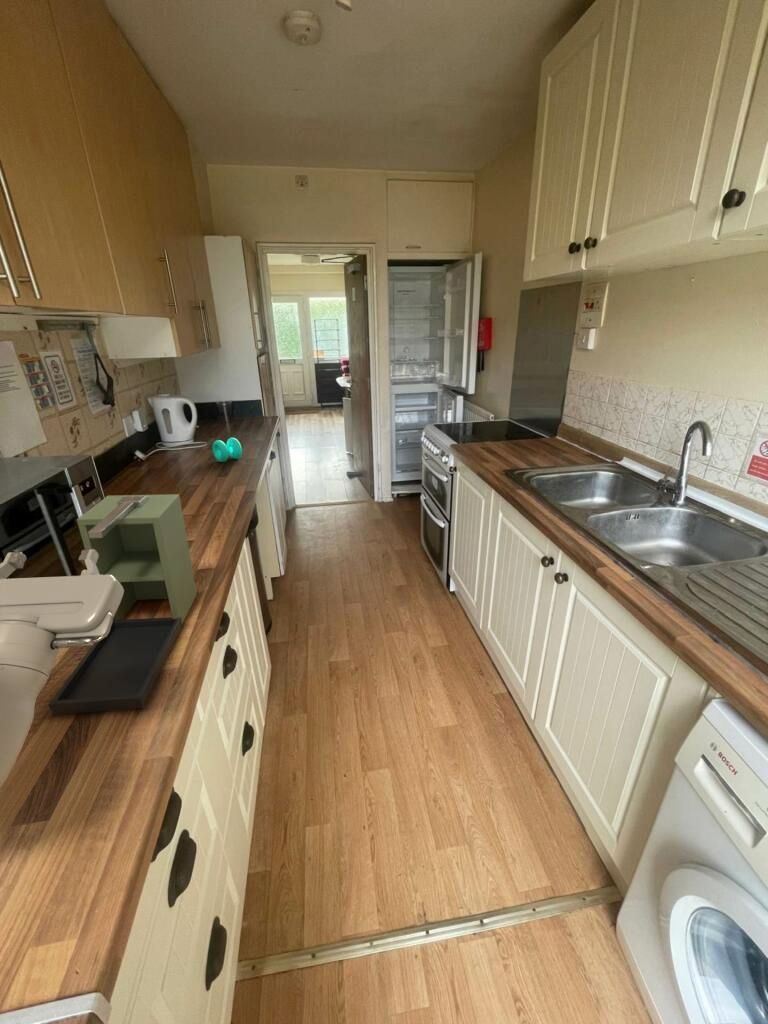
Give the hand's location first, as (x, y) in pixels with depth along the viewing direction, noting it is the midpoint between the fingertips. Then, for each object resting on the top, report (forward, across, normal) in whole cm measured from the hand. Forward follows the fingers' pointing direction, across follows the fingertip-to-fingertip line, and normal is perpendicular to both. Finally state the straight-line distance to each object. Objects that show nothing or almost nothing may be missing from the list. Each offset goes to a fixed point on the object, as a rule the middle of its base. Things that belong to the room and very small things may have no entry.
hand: (54, 552), depth 60 cm
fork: (+14, 0, +12) cm, 18 cm away
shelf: (+7, 0, +36) cm, 37 cm away
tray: (-7, 0, +28) cm, 29 cm away
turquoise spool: (+108, +9, +94) cm, 143 cm away
